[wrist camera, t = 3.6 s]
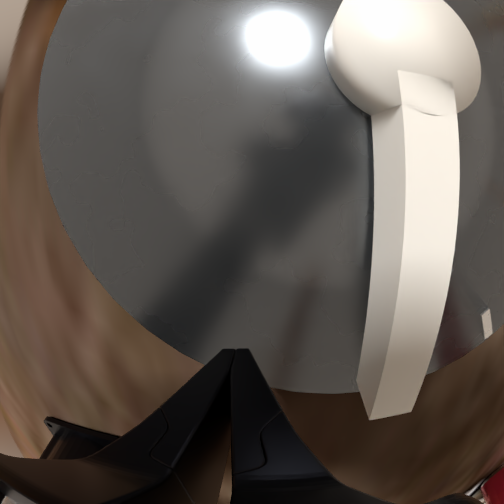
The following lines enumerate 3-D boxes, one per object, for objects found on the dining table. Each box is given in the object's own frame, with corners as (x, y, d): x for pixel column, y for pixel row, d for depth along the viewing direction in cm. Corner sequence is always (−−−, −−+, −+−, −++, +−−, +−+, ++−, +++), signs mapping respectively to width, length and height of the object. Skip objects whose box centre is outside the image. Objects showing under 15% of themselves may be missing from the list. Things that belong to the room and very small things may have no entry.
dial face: (103, 378, 12) (97, 387, 11) (83, -75, 5) (77, -80, 4) (536, 336, 10) (542, 341, 10) (507, -47, 3) (512, -51, 2)
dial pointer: (316, 1, 6) (327, -35, 4) (430, 21, 6) (462, -1, 4) (325, 384, 10) (334, 425, 8) (419, 370, 10) (439, 404, 8)
